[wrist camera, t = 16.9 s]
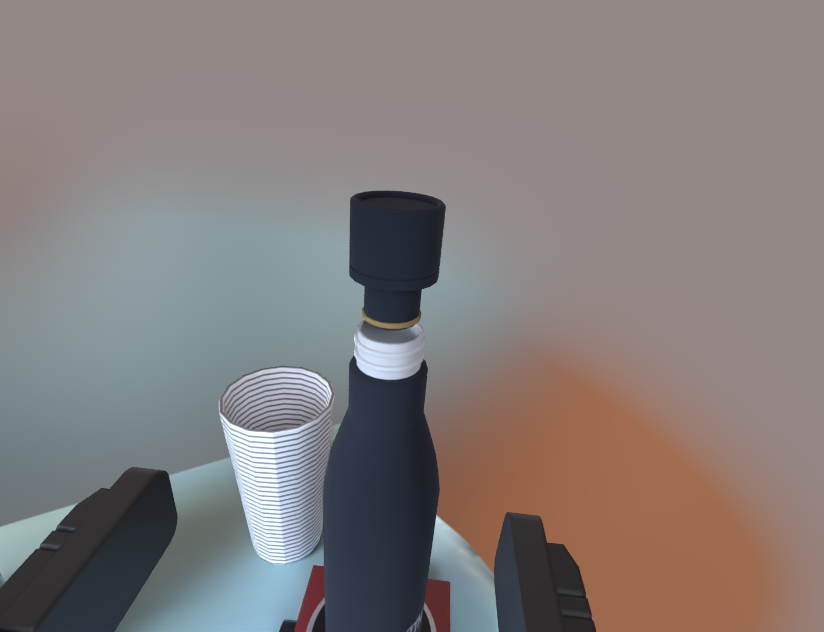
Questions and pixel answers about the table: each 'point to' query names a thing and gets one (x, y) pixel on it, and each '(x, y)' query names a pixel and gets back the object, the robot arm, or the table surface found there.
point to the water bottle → (384, 425)
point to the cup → (280, 456)
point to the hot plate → (312, 612)
